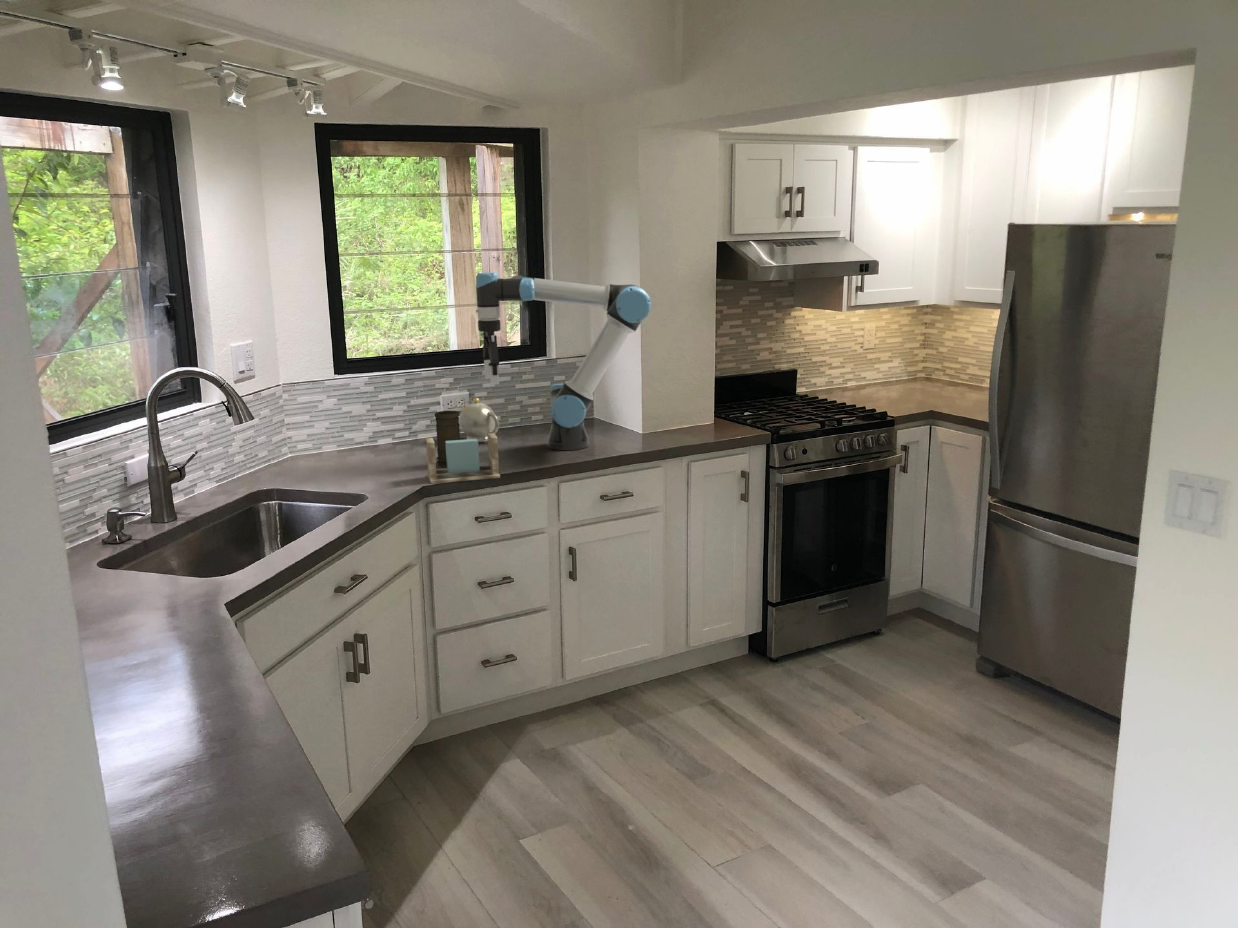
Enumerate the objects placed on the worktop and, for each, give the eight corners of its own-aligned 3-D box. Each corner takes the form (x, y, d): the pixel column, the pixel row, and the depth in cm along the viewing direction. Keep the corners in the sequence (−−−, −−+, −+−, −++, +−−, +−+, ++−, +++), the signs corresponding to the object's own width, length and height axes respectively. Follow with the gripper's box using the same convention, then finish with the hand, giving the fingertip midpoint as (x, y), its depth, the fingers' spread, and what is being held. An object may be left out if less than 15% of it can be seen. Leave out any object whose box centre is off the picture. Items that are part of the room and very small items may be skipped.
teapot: (451, 441, 364) (448, 398, 360) (476, 435, 375) (474, 393, 371) (486, 447, 354) (484, 403, 350) (511, 440, 364) (509, 397, 360)
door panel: (478, 471, 317) (476, 438, 314) (479, 473, 314) (478, 440, 311) (447, 474, 314) (445, 441, 312) (448, 476, 311) (446, 443, 308)
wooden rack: (494, 469, 322) (493, 432, 319) (500, 477, 312) (498, 438, 309) (427, 475, 317) (425, 436, 313) (431, 483, 306) (428, 444, 303)
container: (458, 468, 325) (455, 415, 321) (432, 467, 327) (429, 414, 322) (467, 461, 333) (464, 410, 329) (442, 460, 335) (439, 409, 331)
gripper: (472, 316, 338) (476, 376, 344) (483, 323, 315) (486, 387, 320) (494, 315, 340) (497, 375, 346) (506, 322, 317) (508, 386, 322)
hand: (491, 381), depth 333 cm, fingers open, 13 cm apart
